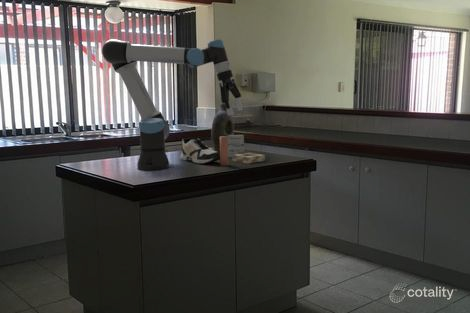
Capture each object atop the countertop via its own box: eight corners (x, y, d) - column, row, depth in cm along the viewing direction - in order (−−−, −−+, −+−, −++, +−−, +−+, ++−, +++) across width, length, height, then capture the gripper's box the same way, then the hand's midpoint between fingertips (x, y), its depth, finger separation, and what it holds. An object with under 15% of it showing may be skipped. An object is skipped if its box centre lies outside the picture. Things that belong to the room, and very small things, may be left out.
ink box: (244, 155, 264) (244, 134, 262) (243, 157, 259) (243, 135, 257) (228, 155, 264) (228, 134, 263) (227, 157, 260) (227, 135, 258)
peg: (223, 165, 233) (223, 137, 231) (218, 164, 236) (218, 136, 234) (229, 164, 236) (229, 136, 234) (224, 163, 239) (224, 136, 237)
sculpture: (238, 152, 275) (238, 100, 270) (221, 155, 264) (221, 101, 260) (224, 151, 282) (223, 100, 278) (207, 153, 272) (206, 100, 267)
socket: (247, 163, 239) (247, 157, 239) (232, 160, 248) (232, 154, 248) (265, 160, 247) (265, 155, 246) (249, 158, 256) (249, 152, 255)
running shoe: (208, 166, 233) (208, 142, 231) (173, 159, 255) (172, 137, 253) (225, 163, 240) (225, 140, 238) (189, 157, 262) (189, 135, 260)
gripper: (220, 71, 223) (233, 115, 226) (239, 67, 246) (250, 106, 249) (206, 75, 226) (219, 118, 229) (226, 71, 249) (238, 110, 252)
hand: (235, 112), depth 239 cm, fingers open, 13 cm apart
